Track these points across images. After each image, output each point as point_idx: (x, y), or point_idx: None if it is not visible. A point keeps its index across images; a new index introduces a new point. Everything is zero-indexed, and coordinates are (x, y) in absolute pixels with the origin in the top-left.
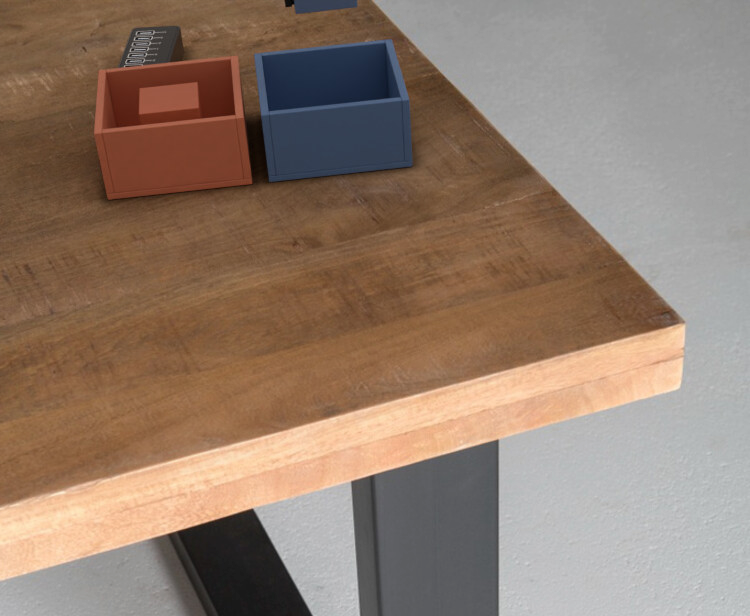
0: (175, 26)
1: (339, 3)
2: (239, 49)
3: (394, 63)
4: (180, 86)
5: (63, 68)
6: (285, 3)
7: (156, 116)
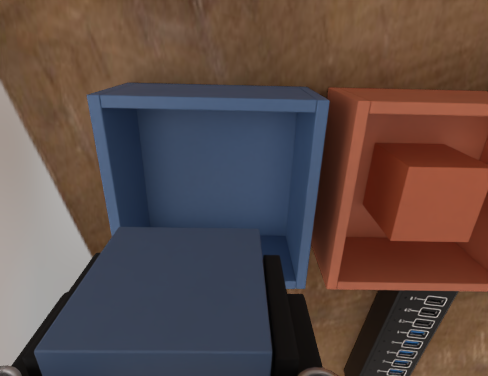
0: None
1: (155, 233)
2: None
3: (114, 218)
4: (415, 234)
5: (457, 365)
6: (279, 256)
7: (467, 165)
